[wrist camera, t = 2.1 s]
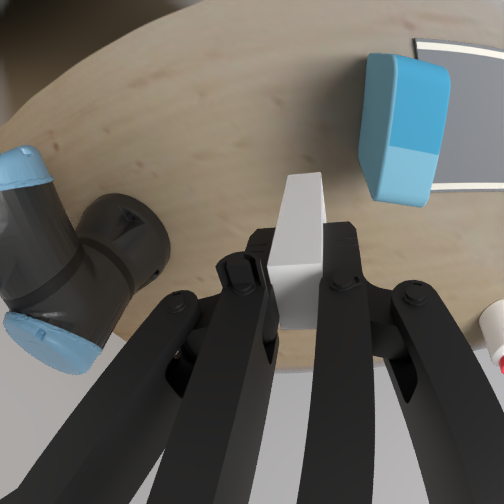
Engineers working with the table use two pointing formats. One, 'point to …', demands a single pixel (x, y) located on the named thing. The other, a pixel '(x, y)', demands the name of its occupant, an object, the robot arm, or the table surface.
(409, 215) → the table surface
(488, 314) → the pill bottle
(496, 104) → the mat
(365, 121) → the light blue flat block
